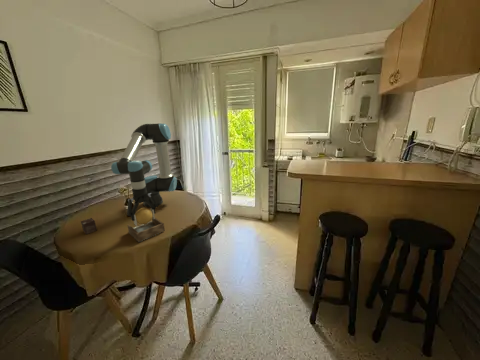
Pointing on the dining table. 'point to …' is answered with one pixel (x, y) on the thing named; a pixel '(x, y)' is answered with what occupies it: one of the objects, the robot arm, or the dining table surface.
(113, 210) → the dining table surface
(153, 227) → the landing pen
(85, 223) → the box
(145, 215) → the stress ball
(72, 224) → the dining table surface
